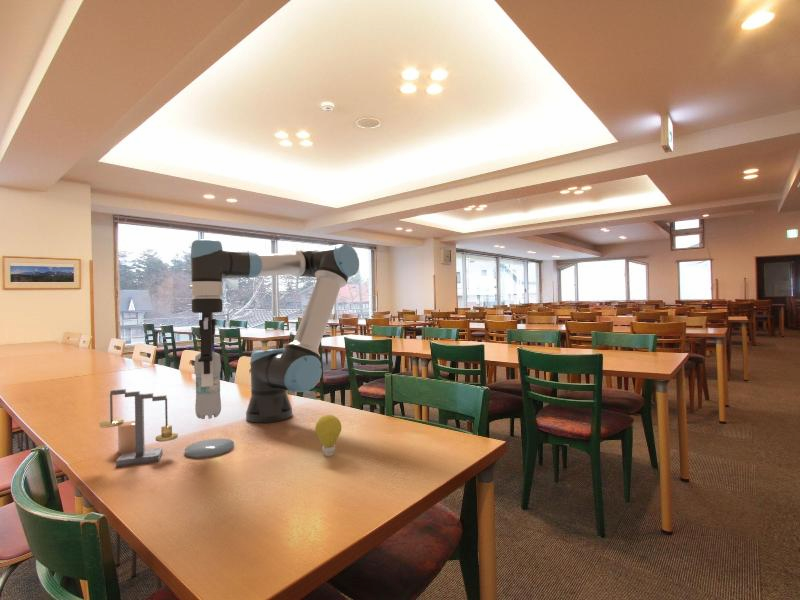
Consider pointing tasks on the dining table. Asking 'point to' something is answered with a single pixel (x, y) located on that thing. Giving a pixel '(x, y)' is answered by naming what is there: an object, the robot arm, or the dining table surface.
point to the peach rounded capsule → (126, 437)
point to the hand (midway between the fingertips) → (208, 383)
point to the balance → (140, 430)
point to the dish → (209, 448)
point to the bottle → (208, 389)
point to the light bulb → (328, 432)
